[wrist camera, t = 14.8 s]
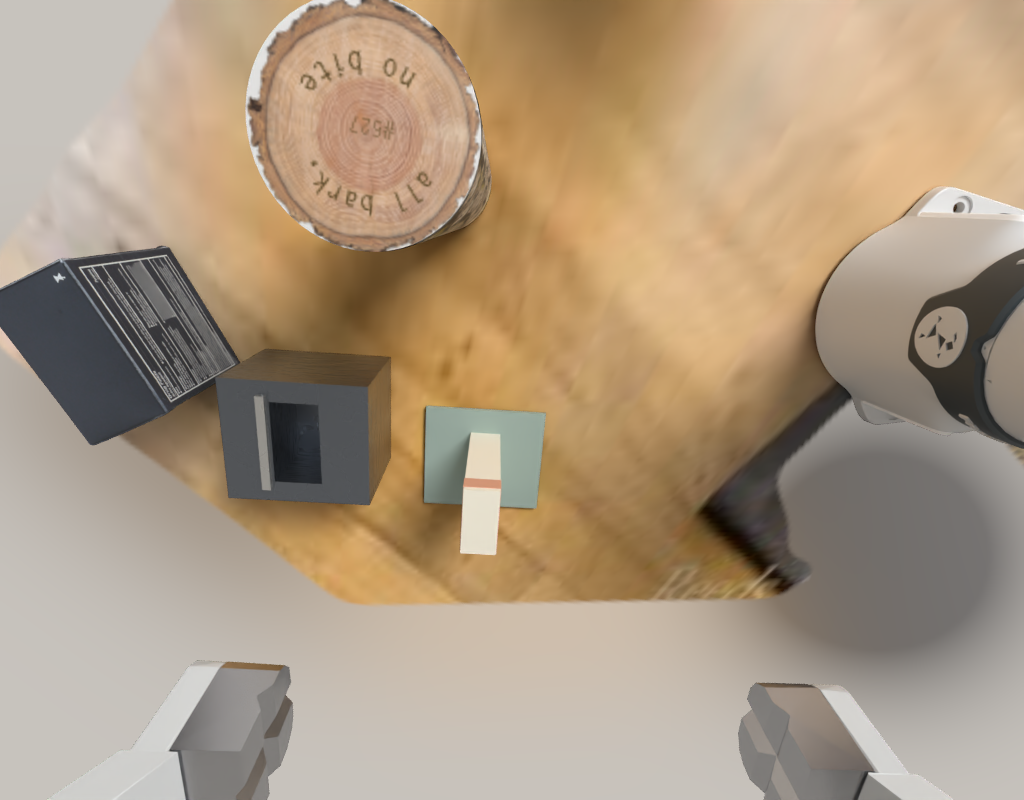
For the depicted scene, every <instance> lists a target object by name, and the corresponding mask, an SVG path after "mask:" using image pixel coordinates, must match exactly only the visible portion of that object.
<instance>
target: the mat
mask: <svg viewBox="0 0 1024 800" xmlns="http://www.w3.org/2000/svg"><path fill="white" fill-rule="evenodd" d="M545 417H546V414H545V413H540V412H524V411H507V410H491V409H474V408H458V407H441V406H426V437H425V482H424V503H442V504H462V499H463V484H464V478H465V474H466V466H467V459H468V451H469V443H470V435H471V432H473V433H489V434H500V462H501V501H500V507H519V508H536V506H537V496H538V486H539V476H540V466H541V456H542V446H543V437H544V427H545Z"/></svg>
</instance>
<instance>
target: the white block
mask: <svg viewBox="0 0 1024 800" xmlns="http://www.w3.org/2000/svg"><path fill="white" fill-rule="evenodd" d="M500 501H501V462H500V434H489V433H473V432H471V435H470V443H469V451H468V459H467V466H466V474H465V478H464V484H463V499H462V517H461V536H460V553H466V554H486V555H496V551H497V539H498V526H499V513H500Z"/></svg>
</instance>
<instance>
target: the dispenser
mask: <svg viewBox="0 0 1024 800" xmlns="http://www.w3.org/2000/svg"><path fill="white" fill-rule="evenodd" d="M215 380H216V389H217V398H218V407H219V416H220V425H221V434H222V443H223V451H224V460H225V469H226V478H227V487H228V496H229V498H242V499H262V500H281V501H300V502H319V503H339V504H358V505H370V503H371V501H372V499H373V496H374V494H375V492H376V490H377V488H378V485H379V483H380V481H381V479H382V476H383V474H384V472H385V470H386V467H387V465H388V463H389V461H390V458H391V357H382V356H367V355H351V354H336V353H320V352H305V351H289V350H274V349H264V350H263V351H261V352H259V353H257V354H256V355H254V356H252V357H250V358H249V359H247V360H245V361H243V362H242V363H240V364H238V365H236V366H235V367H233V368H231V369H229V370H228V371H226V372H224V373H222V374H221V375H219V376H217V377H215Z"/></svg>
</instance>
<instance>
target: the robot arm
mask: <svg viewBox="0 0 1024 800" xmlns="http://www.w3.org/2000/svg"><path fill="white" fill-rule="evenodd" d="M955 204H957V209H956V211H955V212H953V207H954V205H955ZM815 334H816V343H817V348H818V352H819V355H820V358H821V360H822V362H823V364H824V366H825V368H826V369H827V371H828V372H829V373H830V374H831V376H832V377H833V378H834V379H835V380H836V381H837V382H838V383H840V384H841V385H842V386H843V387H844V388H845V389H846V390H847V391H848V392H849V393H850V394H851V396H852V399H853V402H854V405H855V408H856V410H857V412H858V414H859V416H860V417H861V418H862V419H863V420H864V421H867V422H869V423H872V424H877V425H880V424H889V423H897V422H905V421H907V422H910V423H912V424H914V425H917V426H919V427H921V428H924V429H926V430H929V431H932V432H934V433H936V434H940V435H944V436H949V435H951V434H952V433H963V432H970V431H977V432H979V433H980V434H982V435H984V436H986V437H989V438H991V439H994V440H996V441H999V442H1002V443H1006V444H1011V445H1014V446H1016V447H1019V448H1023V449H1024V210H1022V209H1019V208H1016V207H1013V206H1010V205H1007V204H1004V203H1001V202H998V201H995V200H992V199H989V198H986V197H983V196H979V195H976V194H973V193H970V192H967V191H964V190H961V189H958V188H954V187H945V186H940V187H936V188H934V189H932V190H930V191H929V192H928V193H926V194H925V195H924V196H923V197H922V198H921V199H920V200H919V201H918V202H917V203H916V204H915V205H914V206H913V207H912V208H911V209H910V210H909V212H908V213H907V214H906V215H905V216H904V217H902V218H901V219H900V220H898V221H896V222H895V223H893V224H891V225H889V226H887V227H885V228H884V229H882V230H880V231H878V232H876V233H875V234H873V235H871V236H870V237H868V238H867V239H866V240H864V241H863V242H862V243H860V244H859V245H858V246H857V247H856V248H855V249H853V250H852V251H851V252H850V253H849V254H848V255H847V256H846V258H845V259H844V260H843V261H842V262H841V263H840V265H839V266H838V267H837V269H836V270H835V272H834V273H833V275H832V276H831V278H830V280H829V281H828V283H827V285H826V287H825V290H824V292H823V294H822V297H821V300H820V303H819V306H818V311H817V316H816V325H815ZM290 683H291V679H290V670H289V667H287V666H285V665H271V664H256V663H241V662H217V661H200V660H197V661H195V662H194V663H193V664H191V665H190V666H189V667H188V668H187V669H186V670H185V672H184V673H183V675H182V676H181V678H180V679H179V680H178V682H177V683H176V685H175V686H174V688H173V689H172V691H171V692H170V694H169V695H168V696H167V698H166V699H165V701H164V702H163V704H162V705H161V707H160V708H159V709H158V711H157V712H156V714H155V715H154V717H153V718H152V719H151V721H150V722H149V724H148V725H147V727H146V728H145V729H144V731H143V732H142V734H141V735H140V737H139V738H138V740H137V741H136V743H135V744H134V746H133V747H132V748H131V750H120V751H118V752H117V753H115V754H114V755H112V756H111V757H109V758H108V759H106V760H105V761H103V762H102V763H100V764H99V765H97V766H96V767H94V768H93V769H91V770H90V771H89V772H87V773H85V774H84V775H82V776H81V777H80V778H78V779H77V780H75V781H74V782H72V783H71V784H69V785H68V786H66V787H65V788H63V789H62V790H60V791H59V792H57V793H56V794H54V795H53V796H51V797H50V798H48V799H47V800H267V798H268V796H269V783H268V776H269V775H270V774H272V773H273V772H274V771H275V770H276V769H277V768H278V767H280V765H281V763H282V760H283V758H284V755H285V752H286V750H287V747H288V743H289V738H290V734H291V730H292V722H293V703H292V701H291V700H290V699H289V698H288V697H287V696H286V692H287V690H288V688H289V685H290ZM747 700H748V702H749V704H750V706H751V708H752V710H751V711H750V712H748V713H747V714H746V715H745V716H744V717H743V718H742V719H741V724H740V728H739V732H738V736H739V750H740V754H741V757H742V761H743V765H744V767H745V769H746V772H747V774H748V776H749V778H750V780H751V781H752V782H753V783H754V784H755V785H756V786H758V787H759V788H760V789H761V790H762V791H763V792H764V793H765V796H764V800H953V799H952V798H951V797H949V796H948V795H947V794H945V793H944V792H942V791H940V789H938V788H937V787H935V786H934V785H932V784H931V783H930V782H928V781H927V780H925V779H924V778H922V777H921V776H920V775H917V774H909V773H908V772H907V770H906V769H905V767H904V766H903V765H902V763H901V762H900V761H899V759H898V758H897V757H896V755H895V754H894V753H893V751H892V750H891V749H890V747H889V746H888V745H887V743H886V742H885V741H884V739H883V738H882V737H881V735H880V734H879V732H878V731H877V730H876V728H875V727H874V726H873V724H872V723H871V722H870V720H869V719H868V718H867V717H866V715H865V714H864V712H863V711H862V710H861V708H860V707H859V706H858V704H857V703H856V702H855V700H854V699H853V697H852V696H851V695H850V694H849V692H848V691H847V690H846V689H844V688H843V687H841V686H840V685H815V684H812V685H808V684H785V683H782V684H781V683H755V684H754V685H753V686H752V687H751V688H750V691H749V695H748V698H747Z"/></svg>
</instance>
